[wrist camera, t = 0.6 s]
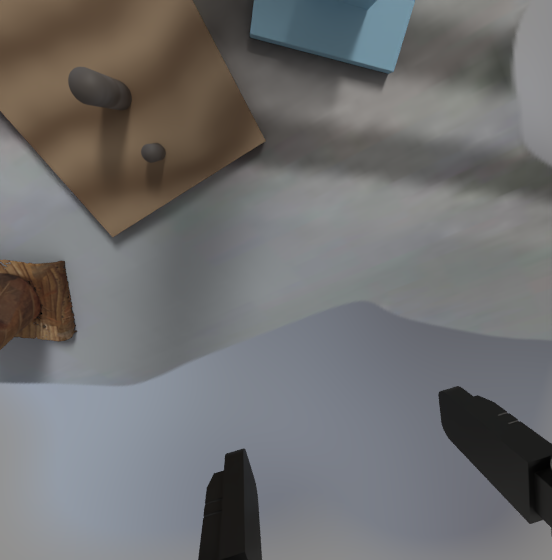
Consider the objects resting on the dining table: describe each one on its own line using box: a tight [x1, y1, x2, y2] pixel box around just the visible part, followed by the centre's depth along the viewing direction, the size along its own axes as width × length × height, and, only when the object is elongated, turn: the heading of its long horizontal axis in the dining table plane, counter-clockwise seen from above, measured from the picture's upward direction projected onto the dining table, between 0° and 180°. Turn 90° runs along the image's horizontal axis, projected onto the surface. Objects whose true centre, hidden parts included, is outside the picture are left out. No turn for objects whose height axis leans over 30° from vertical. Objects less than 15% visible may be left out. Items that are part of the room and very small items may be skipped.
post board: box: [0, 0, 265, 237], centre depth 25 cm, size 20×20×8 cm
